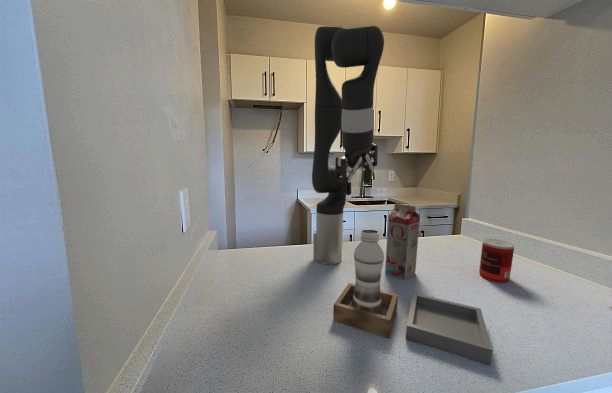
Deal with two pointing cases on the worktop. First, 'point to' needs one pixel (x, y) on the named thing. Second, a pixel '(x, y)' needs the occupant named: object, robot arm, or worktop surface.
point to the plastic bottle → (368, 272)
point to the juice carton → (402, 241)
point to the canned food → (496, 260)
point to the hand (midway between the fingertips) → (357, 188)
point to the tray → (449, 328)
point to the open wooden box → (366, 313)
